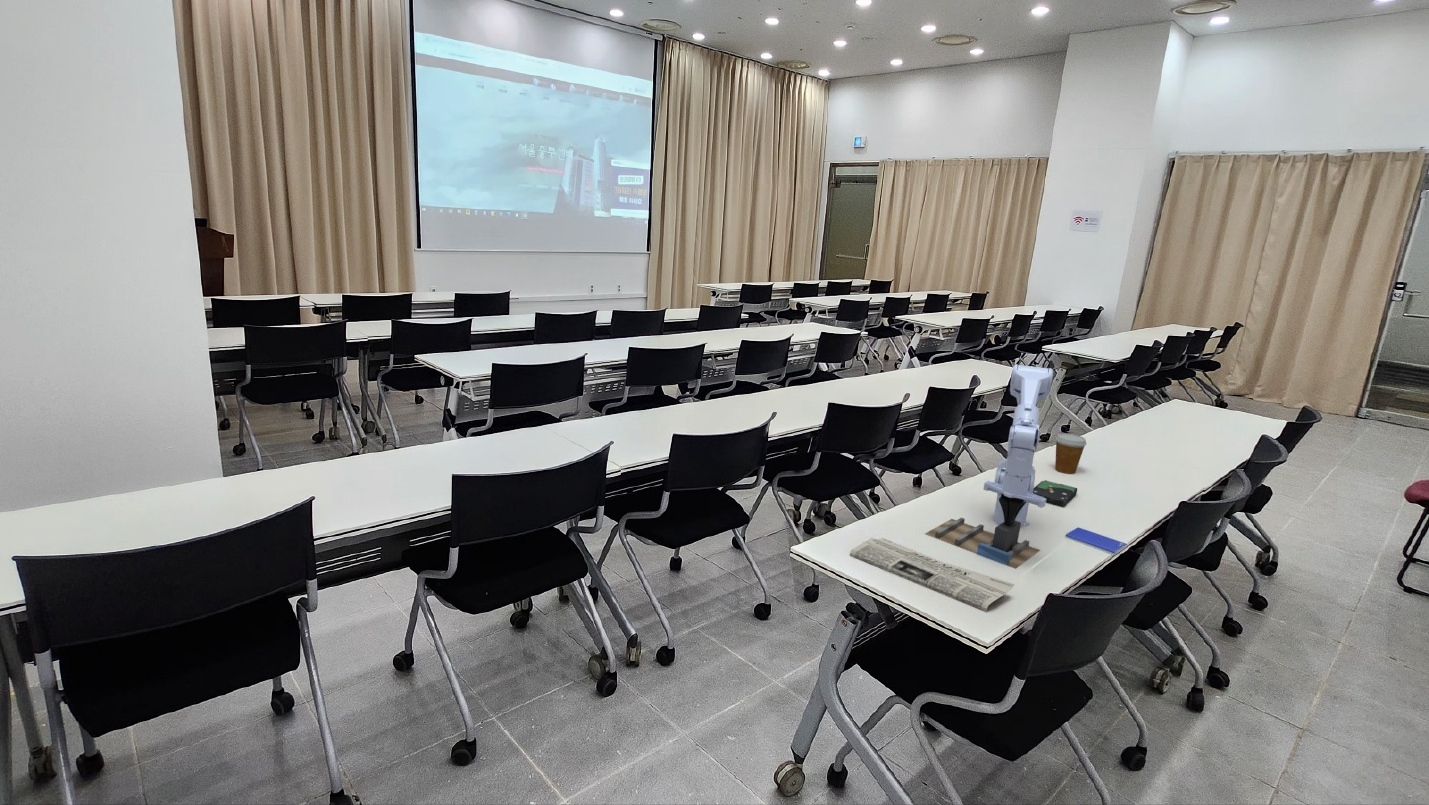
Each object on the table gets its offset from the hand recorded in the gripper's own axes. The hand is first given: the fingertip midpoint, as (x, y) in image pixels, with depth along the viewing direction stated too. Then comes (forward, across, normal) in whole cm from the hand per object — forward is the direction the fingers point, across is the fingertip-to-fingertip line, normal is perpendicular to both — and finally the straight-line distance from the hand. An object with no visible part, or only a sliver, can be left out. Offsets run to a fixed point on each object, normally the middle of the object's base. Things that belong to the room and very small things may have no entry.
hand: (1008, 525), depth 174 cm
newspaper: (+8, -7, -25) cm, 27 cm away
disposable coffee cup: (+8, -13, +79) cm, 80 cm away
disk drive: (+8, -7, +51) cm, 52 cm away
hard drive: (+8, +13, +26) cm, 31 cm away
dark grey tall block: (+7, 0, 0) cm, 7 cm away
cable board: (+8, -6, 0) cm, 10 cm away
